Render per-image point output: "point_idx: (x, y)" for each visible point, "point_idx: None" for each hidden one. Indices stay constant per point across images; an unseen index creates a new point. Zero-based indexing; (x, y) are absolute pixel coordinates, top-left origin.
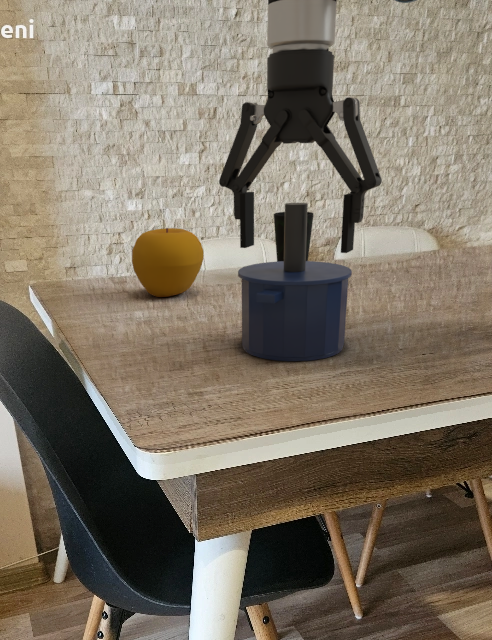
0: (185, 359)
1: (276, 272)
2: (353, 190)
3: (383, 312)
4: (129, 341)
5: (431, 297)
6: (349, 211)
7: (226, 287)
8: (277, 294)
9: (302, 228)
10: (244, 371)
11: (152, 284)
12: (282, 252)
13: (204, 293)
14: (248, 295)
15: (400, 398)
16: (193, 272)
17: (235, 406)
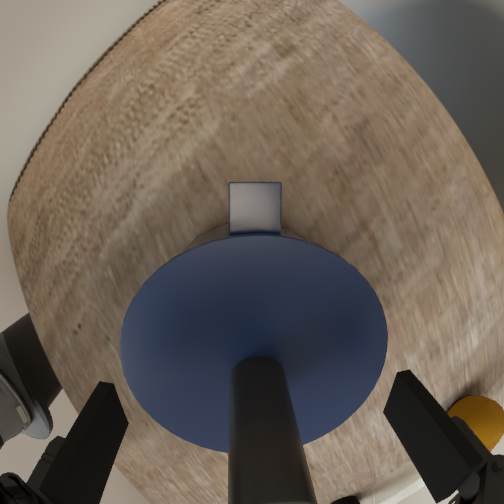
0: (374, 175)
1: (291, 341)
2: (13, 484)
3: (201, 460)
4: (461, 229)
5: (183, 496)
6: (57, 455)
7: (402, 458)
8: (229, 201)
9: (233, 448)
10: (267, 150)
11: (474, 398)
12: None
13: None
14: None
15: (53, 150)
16: None
17: (217, 33)
